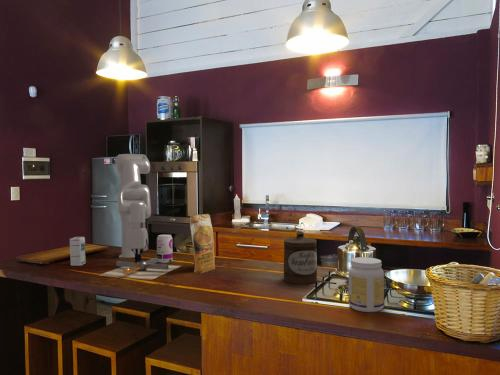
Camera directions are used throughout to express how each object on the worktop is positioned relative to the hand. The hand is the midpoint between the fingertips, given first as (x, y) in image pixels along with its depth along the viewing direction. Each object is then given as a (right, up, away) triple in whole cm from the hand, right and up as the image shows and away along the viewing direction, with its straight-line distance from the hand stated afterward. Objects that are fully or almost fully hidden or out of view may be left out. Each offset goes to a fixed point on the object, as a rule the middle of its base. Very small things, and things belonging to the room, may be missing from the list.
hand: (138, 261), depth 203 cm
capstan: (+5, -2, -11) cm, 12 cm away
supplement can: (+11, -3, +10) cm, 16 cm away
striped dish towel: (+5, -4, -11) cm, 12 cm away
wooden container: (+80, -4, -25) cm, 84 cm away
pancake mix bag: (+34, -4, -7) cm, 35 cm away
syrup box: (-34, -3, +8) cm, 36 cm away
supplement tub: (+99, -5, -62) cm, 117 cm away
